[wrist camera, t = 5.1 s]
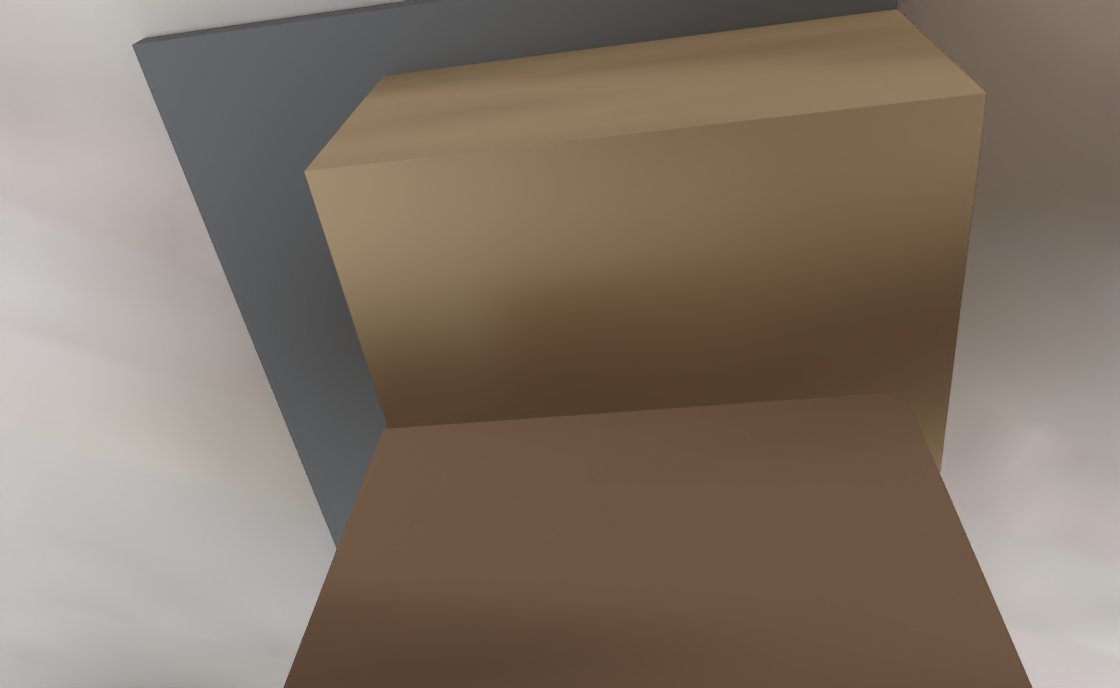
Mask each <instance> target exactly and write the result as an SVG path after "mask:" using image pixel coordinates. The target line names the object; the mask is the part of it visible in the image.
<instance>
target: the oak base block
mask: <svg viewBox="0 0 1120 688" xmlns="http://www.w3.org/2000/svg"><path fill="white" fill-rule="evenodd" d="M986 97H987V92H985V91H984V90H983V89H982V88H981V87H980V86H979V85H978V84H977V83H976V82H975V81H974V80H973V79H972V78H970V77H969V76H968V75H967V74H966V73H965V72H964V71H963V70H962V69H961V68H960V67H959V66H958V65H957V64H955V63H954V62H953V61H952V60H951V59H950V58H949V57H948V56H947V55H946V54H945V53H944V52H943V51H942V50H940V49H939V48H938V47H937V46H936V45H935V44H934V43H933V42H932V41H931V40H930V39H929V38H928V37H927V36H925V35H924V34H923V33H922V32H921V31H920V30H919V29H918V28H917V27H916V26H915V25H914V24H913V23H911V22H910V21H909V20H908V19H907V18H906V17H905V16H904V15H903V14H902V13H901V12H900V11H899V10H898V9H894V10H886V11H878V12H871V13H863V14H855V15H847V16H840V17H832V18H824V19H817V20H809V21H801V22H794V23H786V24H778V25H770V26H763V27H755V28H747V29H740V30H732V31H724V32H717V33H709V34H701V35H693V36H686V37H678V38H670V39H663V40H655V41H647V42H640V43H632V44H624V45H616V46H609V47H601V48H593V49H586V50H578V51H570V52H563V53H555V54H547V55H539V56H532V57H524V58H516V59H509V60H501V61H493V62H485V63H478V64H470V65H462V66H455V67H447V68H439V69H432V70H424V71H416V72H408V73H401V74H393V75H385V76H383V77H382V78H381V79H380V80H379V82H378V83H377V84H376V85H375V86H374V88H373V89H372V90H371V91H370V92H369V94H368V95H367V96H366V97H365V98H364V100H363V101H362V102H361V103H360V105H359V106H358V107H357V108H356V109H355V111H354V112H353V113H352V114H351V115H350V117H349V118H348V119H347V120H346V121H345V123H344V124H343V125H342V126H341V128H340V129H339V130H338V131H337V132H336V134H335V135H334V136H333V137H332V138H331V140H330V141H329V142H328V143H327V144H326V146H325V147H324V148H323V149H322V150H321V152H320V153H319V154H318V155H317V157H316V158H315V159H314V160H313V161H312V163H311V164H310V165H309V166H308V167H307V169H306V170H305V171H304V172H305V175H306V178H307V181H308V185H309V188H310V191H311V194H312V197H313V200H314V203H315V206H316V209H317V212H318V215H319V218H320V221H321V224H322V227H323V231H324V234H325V237H326V240H327V243H328V246H329V249H330V252H331V255H332V258H333V261H334V264H335V267H336V270H337V274H338V277H339V280H340V283H341V286H342V289H343V292H344V295H345V298H346V301H347V304H348V307H349V310H350V313H351V316H352V320H353V323H354V326H355V329H356V332H357V335H358V338H359V341H360V344H361V347H362V350H363V353H364V356H365V359H366V362H367V366H368V369H369V372H370V375H371V378H372V381H373V384H374V387H375V390H376V393H377V396H378V399H379V402H380V405H381V408H382V412H383V415H384V418H385V421H386V424H387V427H388V429H390V428H404V427H418V426H432V425H446V424H460V423H474V422H488V421H502V420H516V419H530V418H544V417H558V416H572V415H586V414H600V413H614V412H628V411H642V410H656V409H670V408H684V407H698V406H712V405H726V404H740V403H754V402H768V401H782V400H797V399H811V398H825V397H839V396H853V395H867V394H881V393H895V392H905V394H906V397H907V399H908V401H909V404H910V406H911V408H912V411H913V413H914V415H915V417H916V420H917V422H918V424H919V427H920V429H921V431H922V434H923V436H924V438H925V441H926V443H927V445H928V448H929V450H930V452H931V454H932V457H933V459H934V461H935V464H936V466H937V468H938V471H939V473H940V469H941V461H942V453H943V445H944V437H945V429H946V421H947V412H948V404H949V396H950V388H951V380H952V372H953V364H954V356H955V348H956V340H957V332H958V324H959V315H960V307H961V299H962V291H963V283H964V275H965V267H966V259H967V251H968V243H969V235H970V226H971V218H972V210H973V202H974V194H975V186H976V178H977V170H978V162H979V154H980V146H981V138H982V129H983V121H984V113H985V105H986Z"/></svg>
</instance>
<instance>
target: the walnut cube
mask: <svg viewBox="0 0 1120 688" xmlns="http://www.w3.org/2000/svg"><path fill="white" fill-rule="evenodd" d="M284 688H1032V686H1031V683H1030V681H1029V679H1028V677H1027V674H1026V672H1025V670H1024V667H1023V665H1022V663H1021V660H1020V658H1019V656H1018V653H1017V651H1016V649H1015V646H1014V644H1013V642H1012V640H1011V637H1010V635H1009V633H1008V630H1007V628H1006V626H1005V623H1004V621H1003V619H1002V616H1001V614H1000V612H999V609H998V607H997V605H996V603H995V600H994V598H993V596H992V593H991V591H990V589H989V586H988V584H987V582H986V579H985V577H984V575H983V572H982V570H981V568H980V566H979V563H978V561H977V559H976V556H975V554H974V552H973V549H972V547H971V545H970V542H969V540H968V538H967V535H966V533H965V531H964V528H963V526H962V524H961V522H960V519H959V517H958V515H957V512H956V510H955V508H954V505H953V503H952V501H951V498H950V496H949V494H948V491H947V489H946V487H945V485H944V482H943V480H942V478H941V475H940V473H939V471H938V468H937V466H936V464H935V461H934V459H933V457H932V454H931V452H930V450H929V448H928V445H927V443H926V441H925V438H924V436H923V434H922V431H921V429H920V427H919V424H918V422H917V420H916V417H915V415H914V413H913V411H912V408H911V406H910V404H909V401H908V399H907V397H906V394H905V392H895V393H881V394H867V395H853V396H839V397H825V398H811V399H797V400H782V401H768V402H754V403H740V404H726V405H712V406H698V407H684V408H670V409H656V410H642V411H628V412H614V413H600V414H586V415H572V416H558V417H544V418H530V419H516V420H502V421H488V422H474V423H460V424H446V425H432V426H418V427H404V428H390V429H383V431H382V433H381V436H380V439H379V441H378V444H377V446H376V449H375V452H374V454H373V457H372V459H371V462H370V465H369V467H368V470H367V472H366V475H365V478H364V480H363V483H362V485H361V488H360V491H359V493H358V496H357V498H356V501H355V504H354V506H353V509H352V511H351V514H350V517H349V519H348V522H347V524H346V527H345V529H344V532H343V535H342V537H341V540H340V542H339V545H338V548H337V550H336V553H335V555H334V558H333V561H332V563H331V566H330V568H329V571H328V574H327V576H326V579H325V581H324V584H323V587H322V589H321V592H320V594H319V597H318V600H317V602H316V605H315V607H314V610H313V613H312V615H311V618H310V620H309V623H308V626H307V628H306V631H305V633H304V636H303V639H302V641H301V644H300V646H299V649H298V652H297V654H296V657H295V659H294V662H293V665H292V667H291V670H290V672H289V675H288V678H287V680H286V683H285V685H284Z"/></svg>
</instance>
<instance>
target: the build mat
mask: <svg viewBox="0 0 1120 688" xmlns="http://www.w3.org/2000/svg"><path fill="white" fill-rule="evenodd" d="M897 3H898V0H412V1H405V2H398V3H391V4H384V5H377V6H370V7H363V8H356V9H349V10H342V11H335V12H328V13H321V14H314V15H307V16H300V17H293V18H286V19H279V20H271V21H264V22H257V23H250V24H243V25H236V26H229V27H222V28H215V29H208V30H201V31H194V32H187V33H180V34H173V35H166V36H159V37H152V38H145V39H142V40H140V41H139V42H137V43H135V44H133V45H132V46H133V49H134V51H135V53H136V56H137V58H138V61H139V63H140V66H141V68H142V71H143V73H144V76H145V78H146V80H147V83H148V85H149V88H150V90H151V93H152V95H153V98H154V100H155V103H156V105H157V108H158V110H159V112H160V115H161V117H162V120H163V122H164V125H165V127H166V130H167V132H168V135H169V137H170V140H171V142H172V144H173V147H174V149H175V152H176V154H177V157H178V159H179V162H180V164H181V167H182V169H183V171H184V174H185V176H186V179H187V181H188V184H189V186H190V189H191V191H192V194H193V196H194V199H195V201H196V203H197V206H198V208H199V211H200V213H201V216H202V218H203V221H204V223H205V226H206V228H207V230H208V233H209V235H210V238H211V240H212V243H213V245H214V248H215V250H216V253H217V255H218V258H219V260H220V262H221V265H222V267H223V270H224V272H225V275H226V277H227V280H228V282H229V285H230V287H231V289H232V292H233V294H234V297H235V299H236V302H237V304H238V307H239V309H240V312H241V314H242V317H243V319H244V321H245V324H246V326H247V329H248V331H249V334H250V336H251V339H252V341H253V344H254V346H255V349H256V351H257V353H258V356H259V358H260V361H261V363H262V366H263V368H264V371H265V373H266V376H267V378H268V380H269V383H270V385H271V388H272V390H273V393H274V395H275V398H276V400H277V403H278V405H279V408H280V410H281V412H282V415H283V417H284V420H285V422H286V425H287V427H288V430H289V432H290V435H291V437H292V439H293V442H294V444H295V447H296V449H297V452H298V454H299V457H300V459H301V462H302V464H303V467H304V469H305V471H306V474H307V476H308V479H309V481H310V484H311V486H312V489H313V491H314V494H315V496H316V499H317V501H318V503H319V506H320V508H321V511H322V513H323V516H324V518H325V521H326V523H327V526H328V528H329V530H330V533H331V535H332V538H333V540H334V543H335V545H336V548H338V545H339V542H340V540H341V537H342V535H343V532H344V529H345V527H346V524H347V522H348V519H349V517H350V514H351V511H352V509H353V506H354V504H355V501H356V498H357V496H358V493H359V491H360V488H361V485H362V483H363V480H364V478H365V475H366V472H367V470H368V467H369V465H370V462H371V459H372V457H373V454H374V452H375V449H376V446H377V444H378V441H379V439H380V436H381V433H382V431H383V429H388V427H387V424H386V421H385V418H384V415H383V412H382V408H381V405H380V402H379V399H378V396H377V393H376V390H375V387H374V384H373V381H372V378H371V375H370V372H369V369H368V366H367V362H366V359H365V356H364V353H363V350H362V347H361V344H360V341H359V338H358V335H357V332H356V329H355V326H354V323H353V320H352V316H351V313H350V310H349V307H348V304H347V301H346V298H345V295H344V292H343V289H342V286H341V283H340V280H339V277H338V274H337V270H336V267H335V264H334V261H333V258H332V255H331V252H330V249H329V246H328V243H327V240H326V237H325V234H324V231H323V227H322V224H321V221H320V218H319V215H318V212H317V209H316V206H315V203H314V200H313V197H312V194H311V191H310V188H309V185H308V181H307V178H306V175H305V172H304V171H305V170H306V169H307V167H308V166H309V165H310V164H311V163H312V161H313V160H314V159H315V158H316V157H317V155H318V154H319V153H320V152H321V150H322V149H323V148H324V147H325V146H326V144H327V143H328V142H329V141H330V140H331V138H332V137H333V136H334V135H335V134H336V132H337V131H338V130H339V129H340V128H341V126H342V125H343V124H344V123H345V121H346V120H347V119H348V118H349V117H350V115H351V114H352V113H353V112H354V111H355V109H356V108H357V107H358V106H359V105H360V103H361V102H362V101H363V100H364V98H365V97H366V96H367V95H368V94H369V92H370V91H371V90H372V89H373V88H374V86H375V85H376V84H377V83H378V82H379V80H380V79H381V78H382V77H383V76H385V75H393V74H401V73H408V72H416V71H424V70H432V69H439V68H447V67H455V66H462V65H470V64H478V63H485V62H493V61H501V60H509V59H516V58H524V57H532V56H539V55H547V54H555V53H563V52H570V51H578V50H586V49H593V48H601V47H609V46H616V45H624V44H632V43H640V42H647V41H655V40H663V39H670V38H678V37H686V36H693V35H701V34H709V33H717V32H724V31H732V30H740V29H747V28H755V27H763V26H770V25H778V24H786V23H794V22H801V21H809V20H817V19H824V18H832V17H840V16H847V15H855V14H863V13H871V12H878V11H886V10H894V9H897Z"/></svg>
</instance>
